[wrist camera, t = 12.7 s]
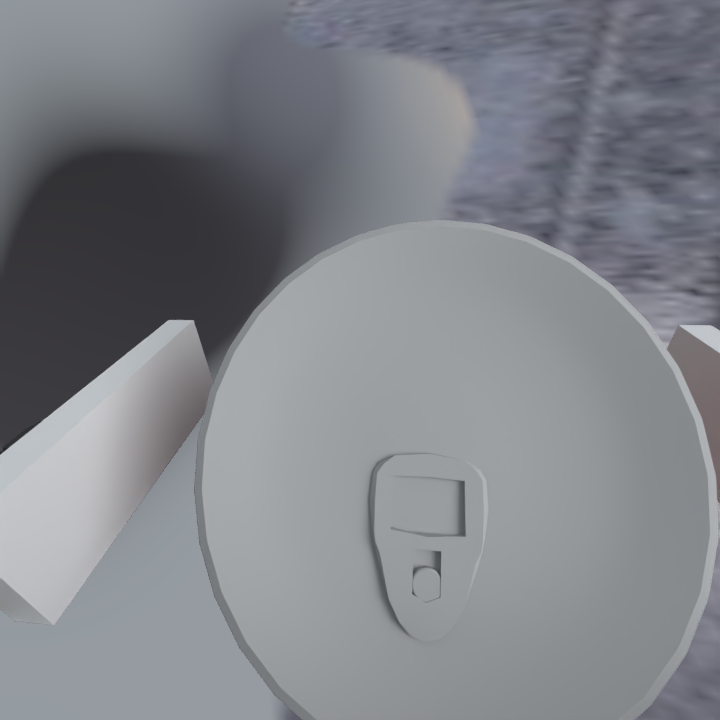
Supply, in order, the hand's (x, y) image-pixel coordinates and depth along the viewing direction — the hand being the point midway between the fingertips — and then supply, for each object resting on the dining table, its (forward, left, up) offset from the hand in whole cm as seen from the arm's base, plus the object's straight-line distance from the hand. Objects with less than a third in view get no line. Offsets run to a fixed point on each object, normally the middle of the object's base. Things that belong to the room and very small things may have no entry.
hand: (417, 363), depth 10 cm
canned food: (-2, +1, -6) cm, 7 cm away
